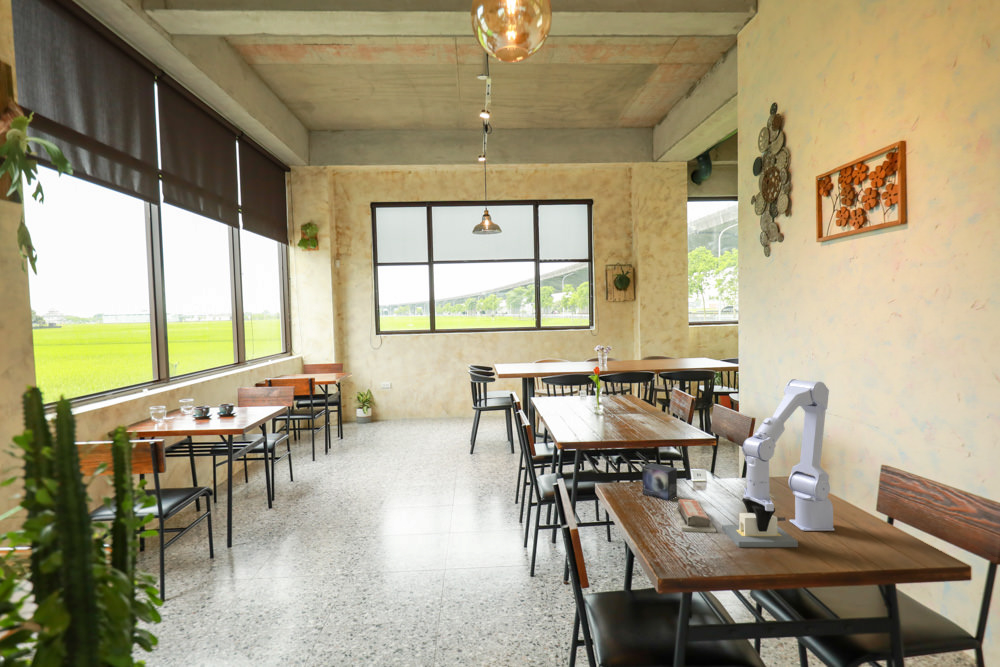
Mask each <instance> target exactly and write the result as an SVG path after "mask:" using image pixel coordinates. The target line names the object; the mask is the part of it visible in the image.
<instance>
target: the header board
mask: <svg viewBox="0 0 1000 667" xmlns="http://www.w3.org/2000/svg"><path fill="white" fill-rule="evenodd" d="M722 530H723V531H724V532H725V533H726V534H727V535H728V536H729V537H730V538H729V537H728V536H727V535H726V534H725V533H724V532H723V531H722ZM721 531H722V532H723V533H724V534H725V535H726V536H727V537H728V538H729V539H730V540H731V541H732V542H733V543H734V544H735V545H736V546H737V548H798V547H799V541H798V540H797V539H796V538H794V537H792V535H790V534H789V533H788V532H786V531H785V530H783V528H781V527H780V526H778V525H777V535H744V531H740V530H739V524H737V525H734V524H732V525H731V524H723V525H721Z"/></svg>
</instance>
